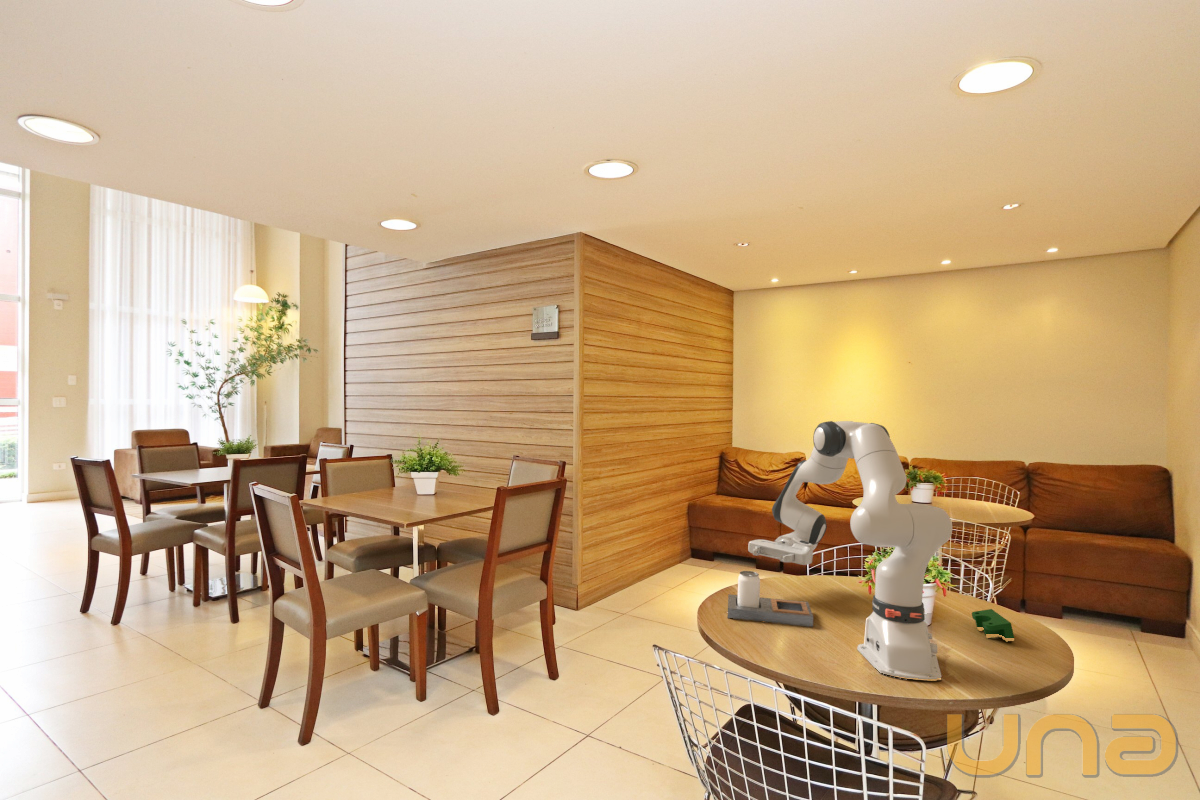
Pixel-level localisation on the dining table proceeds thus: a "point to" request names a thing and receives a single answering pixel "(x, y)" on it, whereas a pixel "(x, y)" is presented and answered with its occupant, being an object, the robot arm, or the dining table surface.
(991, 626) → the clamp
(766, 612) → the grey tray
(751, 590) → the can
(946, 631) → the dining table surface
